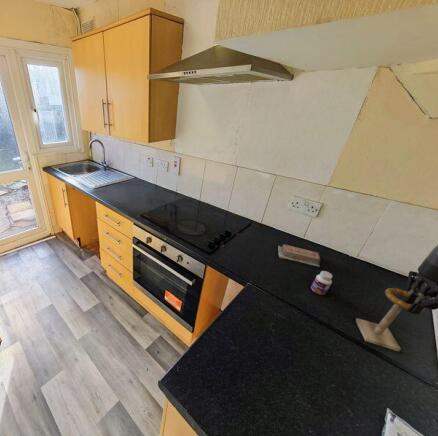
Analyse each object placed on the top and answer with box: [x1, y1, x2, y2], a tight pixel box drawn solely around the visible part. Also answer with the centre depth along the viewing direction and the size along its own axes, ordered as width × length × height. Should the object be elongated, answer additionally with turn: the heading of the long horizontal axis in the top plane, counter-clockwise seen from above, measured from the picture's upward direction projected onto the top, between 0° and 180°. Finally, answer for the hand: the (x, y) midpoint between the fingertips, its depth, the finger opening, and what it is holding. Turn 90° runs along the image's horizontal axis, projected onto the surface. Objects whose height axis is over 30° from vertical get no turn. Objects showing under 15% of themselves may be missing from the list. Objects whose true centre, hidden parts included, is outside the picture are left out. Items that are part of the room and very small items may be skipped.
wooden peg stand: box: [354, 303, 404, 352], centre depth 75 cm, size 9×9×16 cm
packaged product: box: [277, 244, 321, 268], centre depth 117 cm, size 18×5×10 cm
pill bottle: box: [310, 270, 334, 296], centre depth 94 cm, size 5×5×10 cm
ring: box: [384, 287, 426, 312], centre depth 71 cm, size 9×9×2 cm
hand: (409, 309), depth 68 cm, fingers closed on ring, 2 cm apart
